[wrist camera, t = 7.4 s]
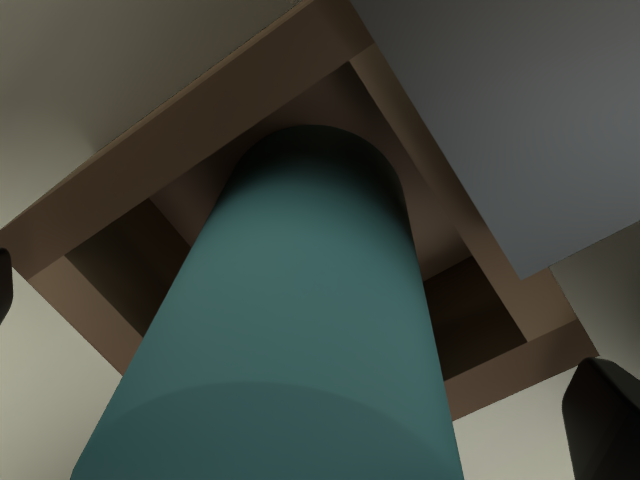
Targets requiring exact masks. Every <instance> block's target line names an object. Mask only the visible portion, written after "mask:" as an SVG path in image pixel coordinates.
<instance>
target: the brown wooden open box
mask: <svg viewBox="0 0 640 480" xmlns="http://www.w3.org/2000/svg"><path fill="white" fill-rule="evenodd" d="M300 125H325V126H333V127H336V128H340V129H344V130H346V131H349V132H351V133H354V134H356V135H358V136H360V137H361V138H363V139H365V140H367V141H368V142H369V143H371V144H372V145H373V146H374V147H376V148H377V149H378V150H379V151H380V152H381V153H382V154H383V155H384V156H385V157H386V158H387V160H388V161H389V162H390V164H391V165H392V166H393V168H394V170H395V172H396V174H397V175H398V177H399V180H400V183H401V185H402V188H403V193H404V197H405V202H406V206H407V211H408V216H409V221H410V225H411V230H412V235H413V239H414V244H415V249H416V254H417V258H418V263H419V268H420V273H421V277H422V282H423V287H424V291H425V296H426V301H427V306H428V310H429V315H430V320H431V325H432V329H433V334H434V339H435V343H436V348H437V353H438V358H439V362H440V367H441V372H442V377H443V381H444V386H445V391H446V395H447V400H448V405H449V410H450V414H451V419H452V421H454V420H457V419H459V418H461V417H463V416H466V415H468V414H470V413H472V412H475V411H477V410H479V409H481V408H483V407H486V406H488V405H490V404H492V403H495V402H497V401H499V400H501V399H504V398H506V397H508V396H510V395H513V394H515V393H517V392H519V391H521V390H524V389H526V388H528V387H530V386H533V385H535V384H537V383H539V382H542V381H544V380H546V379H548V378H551V377H553V376H555V375H557V374H559V373H562V372H564V371H566V370H568V369H571V368H573V367H575V366H577V365H579V364H580V362H581V361H582V360H583V359H584V358H587V357H593V358H595V357H597V356H600V355H599V353H598V352H597V350H596V348H595V346H594V345H593V343H592V341H591V340H590V338H589V336H588V334H587V333H586V331H585V329H584V328H583V326H582V324H581V322H580V321H579V319H578V317H577V315H576V314H575V312H574V310H573V309H572V307H571V305H570V303H569V302H568V300H567V298H566V297H565V295H564V293H563V291H562V290H561V288H560V286H559V285H558V283H557V281H556V279H555V278H554V276H553V274H552V273H551V271H550V269H549V266H551V265H553V264H555V263H557V262H559V261H561V260H563V259H565V258H567V257H569V256H570V255H572V254H574V253H576V252H578V251H580V250H582V249H584V248H586V247H588V246H590V245H592V244H594V243H596V242H598V241H600V240H602V239H604V238H606V237H608V236H610V235H612V234H614V233H616V232H618V231H620V230H622V229H624V228H626V227H628V226H630V225H632V224H634V223H636V222H638V221H640V0H303V1H301V2H300V3H299V4H297V5H296V6H295V7H293V8H292V9H291V10H289V11H288V12H287V13H285V14H284V15H282V16H281V17H280V18H278V19H277V20H276V21H274V22H273V23H272V24H270V25H269V26H268V27H266V28H265V29H263V30H262V31H261V32H259V33H258V34H257V35H255V36H254V37H253V38H251V39H250V40H249V41H247V42H246V43H245V44H243V45H242V46H240V47H239V48H238V49H236V50H235V51H234V52H232V53H231V54H230V55H228V56H227V57H226V58H224V59H223V60H222V61H220V62H219V63H217V64H216V65H215V66H213V67H212V68H211V69H209V70H208V71H207V72H205V73H204V74H203V75H201V76H200V77H199V78H197V79H196V80H194V81H193V82H192V83H190V84H189V85H188V86H186V87H185V88H184V89H182V90H181V91H180V92H178V93H177V94H175V95H174V96H173V97H171V98H170V99H169V100H167V101H166V102H165V103H163V104H162V105H161V106H159V107H158V108H157V109H155V110H154V111H152V112H151V113H150V114H148V115H147V116H146V117H144V118H143V119H142V120H140V121H139V122H138V123H136V124H135V125H134V126H132V127H131V128H129V129H128V130H127V131H125V132H124V133H123V134H121V135H120V136H119V137H117V138H116V139H115V140H113V141H112V142H111V143H109V144H108V145H106V146H105V147H104V148H102V149H101V150H100V151H98V152H97V153H96V154H94V155H93V156H92V157H90V158H89V159H88V160H87V161H85V162H84V163H83V164H82V165H80V166H79V167H78V168H77V169H76V170H74V171H73V172H72V173H71V174H69V175H68V176H67V177H66V178H64V179H63V180H62V181H61V182H59V183H58V184H57V185H56V186H54V187H53V188H52V189H51V190H49V191H48V192H47V193H46V194H44V195H43V196H42V197H41V198H39V199H38V200H37V201H36V202H34V203H33V204H32V205H31V206H29V207H28V208H27V209H26V210H24V211H23V212H22V213H21V214H19V215H18V216H17V217H16V218H14V219H13V220H12V221H11V222H9V223H8V224H7V225H6V226H4V227H3V228H2V229H1V230H0V247H3V248H6V249H7V250H8V251H9V253H10V255H11V263H12V267H13V268H14V269H15V270H16V271H17V272H18V273H19V274H20V275H21V276H22V277H23V278H24V279H25V280H26V281H27V282H28V283H29V284H30V285H31V286H32V287H33V288H34V289H35V290H36V291H37V292H38V293H39V294H40V295H41V296H42V297H43V298H44V299H45V300H46V301H47V302H48V303H49V304H50V305H51V306H52V307H53V308H54V309H55V310H56V311H57V312H58V313H60V314H61V315H62V316H63V317H64V318H65V319H66V320H67V321H68V322H69V323H70V324H71V325H72V326H73V327H74V328H75V329H76V330H77V331H78V332H79V333H80V334H81V335H82V336H83V337H84V338H85V339H86V340H87V341H88V342H89V343H90V344H91V345H92V346H93V347H94V348H95V349H96V350H97V351H98V352H99V353H100V354H101V355H102V356H103V357H104V358H105V359H106V360H107V361H108V362H109V363H110V364H111V365H112V366H113V367H114V368H115V369H116V370H117V371H118V372H119V373H120V374H121V375H122V376H123V375H124V374H125V372H126V370H127V368H128V366H129V364H130V362H131V361H132V359H133V357H134V355H135V353H136V351H137V349H138V347H139V346H140V344H141V342H142V340H143V338H144V336H145V334H146V332H147V331H148V329H149V327H150V325H151V323H152V321H153V319H154V318H155V316H156V314H157V312H158V310H159V308H160V306H161V304H162V303H163V301H164V299H165V297H166V295H167V293H168V291H169V290H170V288H171V286H172V284H173V282H174V280H175V278H176V276H177V275H178V273H179V271H180V269H181V267H182V265H183V263H184V261H185V260H186V258H187V256H188V254H189V252H190V250H191V248H192V247H193V245H194V243H195V241H196V239H197V237H198V235H199V233H200V232H201V230H202V228H203V226H204V224H205V222H206V220H207V218H208V217H209V215H210V213H211V211H212V209H213V207H214V205H215V204H216V202H217V200H218V198H219V196H220V194H221V192H222V190H223V189H224V187H225V185H226V183H227V181H228V179H229V177H230V176H231V174H232V172H233V170H234V168H235V166H236V164H237V163H238V162H239V160H240V159H241V158H242V156H243V155H244V154H245V153H246V152H247V151H248V150H249V149H250V148H251V147H252V146H253V145H255V144H256V143H257V142H259V141H260V140H261V139H263V138H265V137H267V136H268V135H270V134H272V133H275V132H277V131H280V130H282V129H286V128H289V127H293V126H300Z"/></svg>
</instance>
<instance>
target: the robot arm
mask: <svg viewBox="0 0 640 480" xmlns="http://www.w3.org/2000/svg"><path fill="white" fill-rule="evenodd" d="M12 300H13V280H12V263H11V255H10V253H9V251H8V250H7V249H6V248H3V247H0V325H1V323H2V321H3V320H4V318H5V316H6V315H7V313H8V311H9V309H10V307H11V304H12ZM562 414H563V419H564V424H565V430H566V435H567V440H568V445H569V451H570V456H571V461H572V466H573V472H574V477H575V480H640V380H638V379H637V378H635V377H634V376H633V375H631V374H630V373H628V372H627V371H626V370H624V369H623V368H621V367H620V366H619V365H617V364H616V363H614V362H612V361H609V360H604V359H599V358H593V357H587V358H584V359H583V360H582V361H581V362H580V364H579V365H578V367H577V369H576V371H575V373H574V375H573V377H572V379H571V381H570V384H569V386H568V388H567V390H566V392H565V394H564V396H563V400H562Z"/></svg>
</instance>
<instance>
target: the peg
mask: <svg viewBox="0 0 640 480" xmlns="http://www.w3.org/2000/svg"><path fill="white" fill-rule="evenodd" d="M70 480H464V476H463V471H462V466H461V462H460V457H459V452H458V448H457V443H456V438H455V433H454V429H453V424H452V419H451V414H450V410H449V405H448V400H447V395H446V391H445V386H444V381H443V377H442V372H441V367H440V362H439V358H438V353H437V348H436V343H435V339H434V334H433V329H432V325H431V320H430V315H429V310H428V306H427V301H426V296H425V291H424V287H423V282H422V277H421V273H420V268H419V263H418V258H417V254H416V249H415V244H414V239H413V235H412V230H411V225H410V221H409V216H408V211H407V206H406V202H405V197H404V193H403V188H402V185H401V183H400V180H399V177H398V175H397V174H396V172H395V170H394V168H393V166H392V165H391V164H390V162H389V161H388V160H387V158H386V157H385V156H384V155H383V154H382V153H381V152H380V151H379V150H378V149H377V148H376V147H374V146H373V145H372V144H371V143H369V142H368V141H367V140H365V139H363V138H361V137H360V136H358V135H356V134H354V133H351V132H349V131H346V130H344V129H340V128H336V127H333V126H325V125H300V126H293V127H289V128H286V129H282V130H280V131H277V132H275V133H272V134H270V135H268V136H267V137H265V138H263V139H261V140H260V141H259V142H257V143H256V144H255V145H253V146H252V147H251V148H250V149H249V150H248V151H247V152H246V153H245V154H244V155H243V156H242V158H241V159H240V160H239V162H238V163H237V164H236V166H235V168H234V170H233V172H232V174H231V176H230V177H229V179H228V181H227V183H226V185H225V187H224V189H223V190H222V192H221V194H220V196H219V198H218V200H217V202H216V204H215V205H214V207H213V209H212V211H211V213H210V215H209V217H208V218H207V220H206V222H205V224H204V226H203V228H202V230H201V232H200V233H199V235H198V237H197V239H196V241H195V243H194V245H193V247H192V248H191V250H190V252H189V254H188V256H187V258H186V260H185V261H184V263H183V265H182V267H181V269H180V271H179V273H178V275H177V276H176V278H175V280H174V282H173V284H172V286H171V288H170V290H169V291H168V293H167V295H166V297H165V299H164V301H163V303H162V304H161V306H160V308H159V310H158V312H157V314H156V316H155V318H154V319H153V321H152V323H151V325H150V327H149V329H148V331H147V332H146V334H145V336H144V338H143V340H142V342H141V344H140V346H139V347H138V349H137V351H136V353H135V355H134V357H133V359H132V361H131V362H130V364H129V366H128V368H127V370H126V372H125V374H124V375H123V377H122V379H121V381H120V383H119V385H118V387H117V389H116V390H115V392H114V394H113V396H112V398H111V400H110V402H109V403H108V405H107V407H106V409H105V411H104V413H103V415H102V417H101V418H100V420H99V422H98V424H97V426H96V428H95V430H94V432H93V433H92V435H91V437H90V439H89V441H88V443H87V445H86V446H85V448H84V450H83V452H82V454H81V456H80V458H79V460H78V462H77V463H76V465H75V467H74V469H73V472H72V475H71V478H70Z"/></svg>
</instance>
